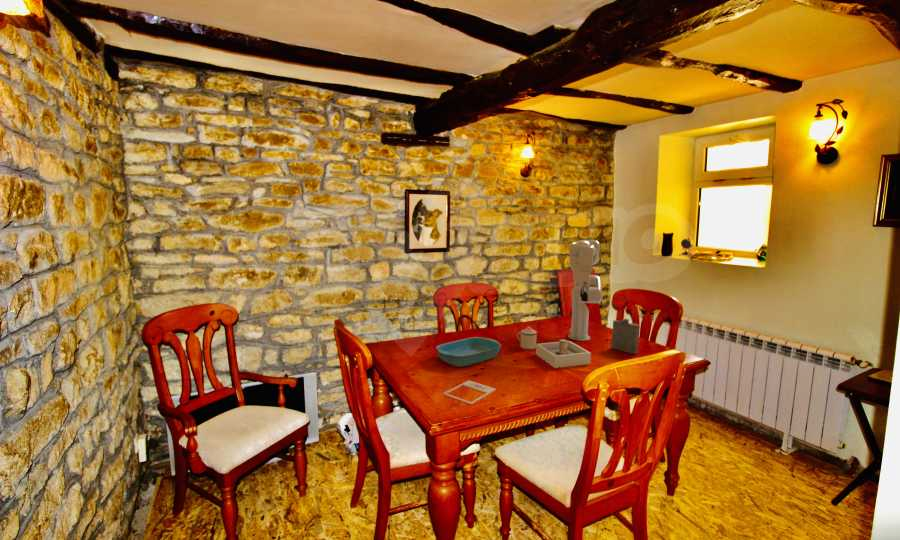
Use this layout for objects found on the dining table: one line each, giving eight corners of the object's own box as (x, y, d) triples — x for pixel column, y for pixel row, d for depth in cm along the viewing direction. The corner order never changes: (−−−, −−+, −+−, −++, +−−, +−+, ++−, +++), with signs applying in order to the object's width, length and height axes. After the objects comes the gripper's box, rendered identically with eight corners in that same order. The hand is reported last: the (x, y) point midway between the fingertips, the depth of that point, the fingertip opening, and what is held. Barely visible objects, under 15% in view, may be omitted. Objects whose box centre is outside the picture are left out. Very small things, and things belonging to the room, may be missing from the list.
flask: (635, 354, 232) (637, 322, 230) (610, 348, 243) (611, 317, 240) (638, 353, 235) (640, 321, 232) (613, 346, 245) (615, 316, 242)
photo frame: (495, 388, 187) (471, 402, 173) (495, 390, 188) (471, 405, 174) (468, 379, 196) (443, 392, 183) (468, 382, 197) (443, 395, 183)
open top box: (536, 354, 232) (536, 343, 231) (569, 351, 237) (569, 340, 236) (554, 368, 213) (555, 356, 212) (590, 364, 218) (590, 352, 217)
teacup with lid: (539, 346, 245) (540, 326, 243) (530, 350, 238) (531, 330, 236) (521, 342, 253) (522, 323, 251) (512, 346, 246) (513, 326, 244)
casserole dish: (480, 345, 247) (480, 333, 246) (508, 356, 230) (509, 343, 229) (428, 360, 224) (427, 346, 223) (455, 373, 207) (455, 358, 206)
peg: (557, 358, 226) (557, 339, 225) (563, 357, 227) (564, 339, 226) (560, 360, 223) (561, 342, 221) (567, 360, 224) (568, 341, 222)
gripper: (577, 266, 244) (576, 295, 247) (578, 270, 227) (577, 302, 230) (591, 266, 242) (589, 296, 245) (593, 271, 226) (592, 303, 228)
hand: (583, 299), depth 237 cm, fingers open, 9 cm apart
